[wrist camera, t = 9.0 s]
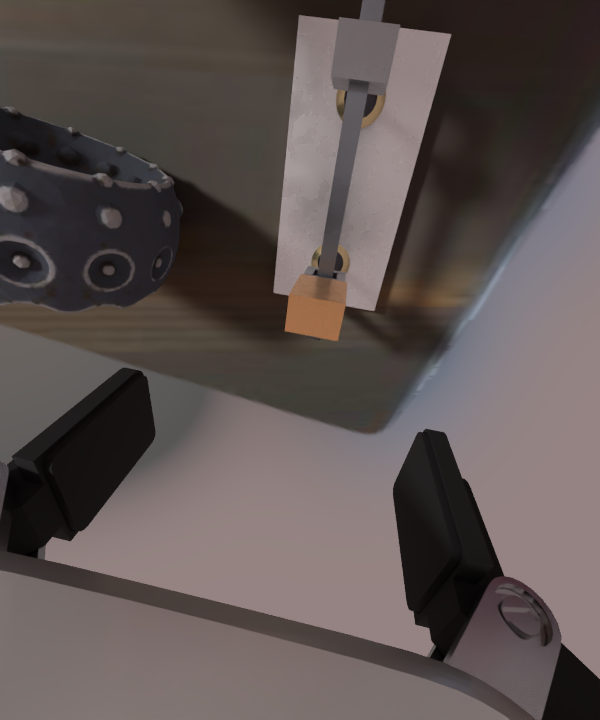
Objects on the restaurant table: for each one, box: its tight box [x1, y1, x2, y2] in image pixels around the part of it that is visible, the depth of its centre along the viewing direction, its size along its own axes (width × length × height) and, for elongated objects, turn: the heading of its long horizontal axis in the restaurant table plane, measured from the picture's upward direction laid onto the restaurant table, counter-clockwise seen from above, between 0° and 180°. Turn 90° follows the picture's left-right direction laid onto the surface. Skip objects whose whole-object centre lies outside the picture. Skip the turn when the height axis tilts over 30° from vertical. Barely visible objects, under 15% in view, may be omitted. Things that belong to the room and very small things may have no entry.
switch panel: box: [273, 0, 451, 340], centre depth 26 cm, size 23×12×12 cm, turn 172°
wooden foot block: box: [285, 266, 347, 341], centre depth 26 cm, size 3×4×15 cm
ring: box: [0, 107, 183, 313], centre depth 26 cm, size 11×20×20 cm, turn 69°
